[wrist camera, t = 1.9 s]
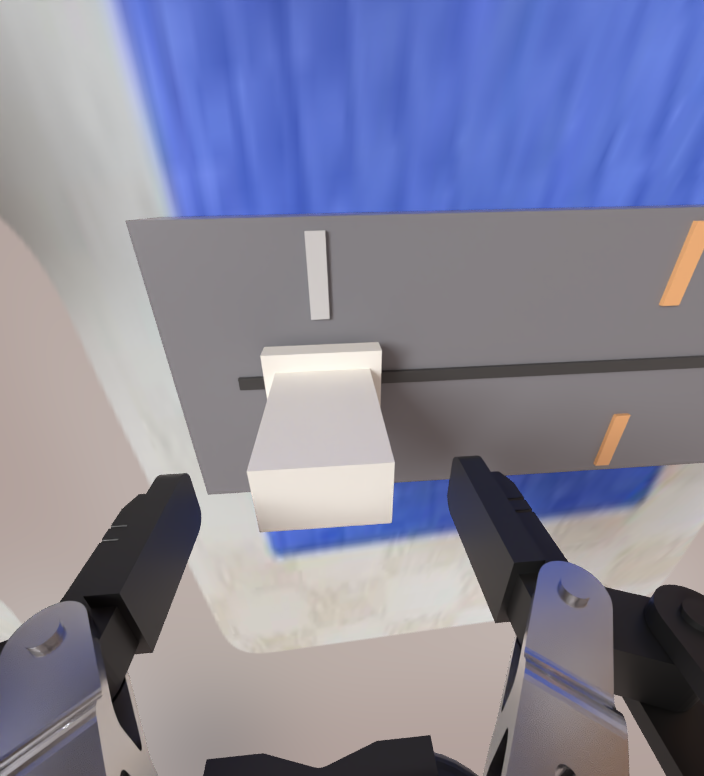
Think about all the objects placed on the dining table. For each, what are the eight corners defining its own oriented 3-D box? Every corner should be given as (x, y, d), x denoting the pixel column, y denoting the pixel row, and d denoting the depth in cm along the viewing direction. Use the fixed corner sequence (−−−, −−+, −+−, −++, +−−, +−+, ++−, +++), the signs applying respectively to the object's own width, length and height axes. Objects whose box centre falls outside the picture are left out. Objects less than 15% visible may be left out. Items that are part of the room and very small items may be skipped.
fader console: (159, 217, 15) (122, 220, 13) (782, 202, 17) (872, 203, 14) (221, 459, 22) (206, 497, 19) (664, 433, 24) (710, 464, 21)
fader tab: (264, 346, 15) (221, 449, 9) (378, 341, 15) (415, 437, 9) (275, 423, 17) (247, 550, 11) (377, 417, 17) (406, 539, 11)
